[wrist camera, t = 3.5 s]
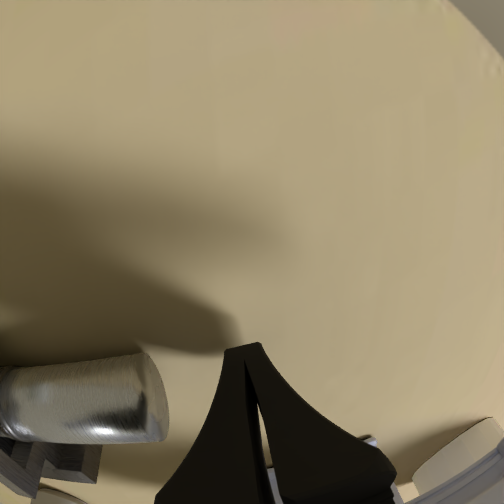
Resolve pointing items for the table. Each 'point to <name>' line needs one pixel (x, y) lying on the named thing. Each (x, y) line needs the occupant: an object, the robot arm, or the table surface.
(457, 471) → the container
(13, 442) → the collar bracket
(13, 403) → the tube
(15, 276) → the table surface
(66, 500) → the can
